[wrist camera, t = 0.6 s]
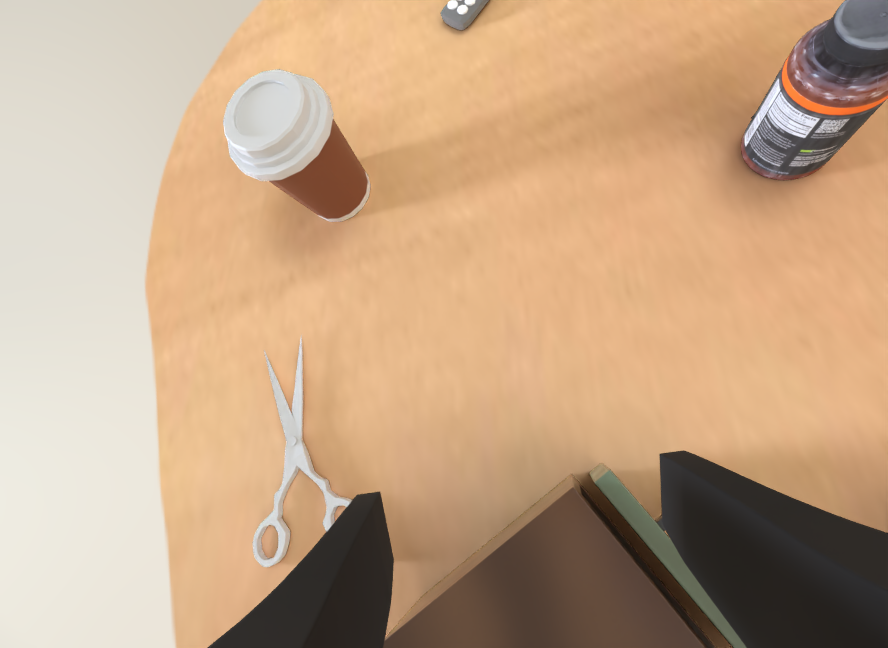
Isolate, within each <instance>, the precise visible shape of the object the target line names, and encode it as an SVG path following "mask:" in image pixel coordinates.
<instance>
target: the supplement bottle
mask: <svg viewBox="0 0 888 648" xmlns="http://www.w3.org/2000/svg"><path fill="white" fill-rule="evenodd" d="M887 98H888V0H845V1H844V2H843V3H842V4H841V6H840V7H839V8H838V9H837V11H836V13H835V14H834V16H833V17H832V18H831V19H830V20H827V21H824V22H823V23H821V24H819V25H818V26H816V27H814V28H813V29H811V30H810V31H808V32H807V33H806V34H805V35H804V36H803V37H802V38H801V39H800V40H799V41H798V42H797V44H796V45H795V46H794V48H793V50H792V51H791V53H790V55H789V57H788V58H787V59H786V61H785V62H784V65H783V67H782V69H781V70H780V72H779V73H778V75H777V76H776V79H775V80H774V82H773V84H772V85H771V87H770V89H769V91H768V92H767V94H766V96H765V98H764V100H763V101H762V103H761V105H760V106H759V108H758V110H757V111H756V113H755V114H754V116H752V117H751V119H752V120H751V121H750V124H749V125H748V127H747V129H746V131H745V133H744V135H743V138H742V142H741V152H742V156H743V159H744V160H745V162H746V163H747V165H748V166H749V167H750V168H751V169H752V170H754V171H755V172H757V173H758V174H760V175H762V176H764V177H767V178H771V179H777V180H792V179H798V178H802V177H805V176H808V175H810V174H812V173H814V172H816V171H817V170H818V169H820V168H821V167H822V166H823V165H825V164H826V163H827V162H828V161H829V160H830V159H831V158H832V156H833V155H834V154H835V153H836V152H837V151H838V150H839V149H840V148H841V147H842V146H843V145H844V144H845V143H846V142H847V141H848V140H849V138H850V137H851V136H852V135H853V134H854V133H855V132H856V131H857V130H858V129H859V128H860V127H861V126H862V125H863V124H864V123H865V122H866V120H867V119H868V118H869V117H870V116H871V115H872V114H873V113H874V112H875V111H876V110H877V109H878V108H879V107H880V106H881V105H882V104H883V103H884V102H885V100H886V99H887Z"/></svg>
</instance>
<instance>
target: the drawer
mask: <svg viewBox="0 0 888 648" xmlns="http://www.w3.org/2000/svg"><path fill="white" fill-rule="evenodd" d="M589 474H590V476H591V478H592V479H593V481H594V483H595V485H596V486H597V487H598V488H599V489H600V491H601V492H602V493H603V494H604V495H605V496H606V498H607V499H608V500H609V501H610V502H611V504H612V505H613V506H614V507H615V508H616V510H617V511H618V512H619V513H620V514H621V515H622V517H623V518H624V519H625V520H626V521H627V523H628V524H629V525H630V526H631V527H632V528H633V530H634V531H635V532H636V533H637V534H638V536H639V537H640V538H641V539H642V540H643V542H644V543H645V544H646V545H647V546H648V547H649V549H650V550H651V551H652V552H653V553H654V555H655V556H656V557H657V558H658V559H659V560H660V562H661V563H662V564H663V565H664V566H665V568H666V569H667V570H668V571H669V572H670V574H671V575H672V576H673V577H674V578H675V579H676V581H677V582H678V583H679V584H680V585H681V587H682V588H683V589H684V590H685V591H686V592H687V594H688V595H689V596H690V597H691V598H692V600H693V601H694V602H695V603H696V604H697V606H698V607H699V608H700V609H701V610H702V611H703V613H704V614H705V615H706V616H707V617H708V619H709V620H710V621H711V622H712V623H713V624H714V626H715V627H716V628H717V629H718V630H719V632H720V633H721V634H722V635H723V636H724V638H725V639H726V640H727V641H728V642H729V643H730V645H731V646H732V647H733V648H747V647H746V646H745V645H744V643H743V642H742V641H741V639H740V638H739V637H738V635H737V634H736V632H735V631H734V630H733V628H732V627H731V626H730V624H729V623H728V622H727V620H726V619H725V618H724V616H723V615H722V614H721V612H720V611H719V610H718V608H717V607H716V605H715V604H714V603H713V601H712V600H711V599H710V597H709V596H708V595H707V593H706V592H705V591H704V589H703V588H702V586H701V585H700V584H699V582H698V581H697V580H696V578H695V577H694V575H693V574H692V573H691V571H690V570H689V569H688V567H687V566H686V564H685V563H684V561H683V560H682V558H681V556H680V554H679V553H678V551H677V549H676V548H675V546H674V544H673V542H672V541H671V539H670V538H669V537H668V535H667V534H666V533H665V532H664V531H665V528H664V526H663V524H662V515H661V516H660V517H659V518H658V519H656V520H655V521H654V519H653V518H652V517H651V516H650V515H649V514H648V512H647V511H646V510H645V509H644V508H643V507H642V506H641V504H640V503H639V502H638V501H637V500H636V499H635V498H634V496H633V495H632V494H631V493H630V492H629V491H628V490H627V488H626V487H625V486H624V485H623V484H622V483H621V481H620V480H619V479H618V478H617V477H616V476H615V475H614V473H613V472H612V471H611V470H610V469H609V468H608V467H606V466H605V465H604V464H603V463H601V464H600V465H598V466H597V467H596V468H595V469H593V470H592V471H591V472H590V473H589ZM582 497H583V498H584V499H585V497H584V496H583V495H582ZM585 500H586V499H585ZM586 501H587V500H586ZM587 503H588V504H589V505H590V503H589V502H588V501H587ZM590 506H591V505H590ZM591 508H592V509H593V510H594V508H593V507H592V506H591ZM594 511H595V510H594ZM595 512H596V511H595ZM596 514H597V515H598V516H599V514H598V513H597V512H596ZM599 517H600V516H599ZM600 519H601V520H602V521H603V522H604V520H603V519H602V518H601V517H600ZM604 523H605V522H604ZM605 525H606V526H607V527H608V525H607V524H606V523H605ZM608 528H609V527H608ZM609 529H610V528H609ZM610 531H611V532H612V533H613V531H612V530H611V529H610ZM613 534H614V533H613ZM614 536H615V537H616V538H617V539H618V537H617V536H616V535H615V534H614ZM618 540H619V539H618ZM619 542H620V543H621V544H622V542H621V541H620V540H619ZM622 545H623V544H622ZM623 547H624V548H625V549H626V550H627V548H626V547H625V546H624V545H623ZM627 551H628V550H627ZM628 553H629V554H630V555H631V553H630V552H629V551H628ZM631 556H632V555H631ZM632 557H633V556H632ZM633 559H634V560H635V561H636V559H635V558H634V557H633ZM636 562H637V561H636ZM637 564H638V565H639V566H640V567H641V565H640V564H639V563H638V562H637ZM641 568H642V567H641ZM642 570H643V571H644V572H645V570H644V569H643V568H642ZM645 573H646V572H645ZM646 574H647V573H646ZM647 576H648V577H649V578H650V576H649V575H648V574H647ZM650 579H651V578H650ZM651 581H652V582H653V583H654V584H655V582H654V581H653V580H652V579H651ZM655 585H656V584H655ZM656 587H657V588H658V589H659V587H658V586H657V585H656ZM659 590H660V589H659ZM660 592H661V593H662V594H663V595H664V593H663V592H662V591H661V590H660ZM664 596H665V595H664ZM665 598H666V599H667V600H668V601H669V599H668V598H667V597H666V596H665ZM669 602H670V601H669ZM670 604H671V605H672V606H673V604H672V603H671V602H670ZM673 607H674V606H673ZM674 609H675V610H676V611H677V612H678V610H677V609H676V608H675V607H674ZM678 613H679V612H678ZM679 615H680V616H681V617H682V618H683V616H682V615H681V614H680V613H679ZM683 620H684V621H685V622H686V623H687V621H686V620H685V619H684V618H683ZM687 624H688V623H687ZM688 626H689V627H690V628H691V629H692V627H691V626H690V625H689V624H688ZM692 630H693V629H692ZM693 632H694V633H695V634H696V635H697V633H696V632H695V631H694V630H693ZM697 637H698V638H699V639H700V640H701V638H700V637H699V636H698V635H697ZM701 641H702V640H701ZM702 643H703V644H704V645H705V646H706V644H705V643H704V642H703V641H702ZM706 648H708V647H707V646H706Z"/></svg>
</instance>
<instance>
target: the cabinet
mask: <svg viewBox="0 0 888 648" xmlns="http://www.w3.org/2000/svg"><path fill="white" fill-rule="evenodd" d="M582 495H583V496H584V497H585V499H586V500H587V501H588V502H589V503H590V505H591V506H592V507H593V508H594V510H595V511H596V512H597V513H598V514H599V516H600V517H601V518H602V519H603V520H604V522H605V523H606V524H607V525H608V527H609V528H610V529H611V530H612V531H613V533H614V534H615V535H616V536H617V537H618V539H619V540H620V541H621V542H622V544H623V545H624V546H625V547H626V548H627V550H628V551H629V552H630V553H631V555H632V556H633V557H634V558H635V559H636V561H637V562H638V563H639V564H640V565H641V567H642V568H643V569H644V570H645V572H646V573H647V574H648V575H649V576H650V578H651V579H652V580H653V581H654V582H655V584H656V585H657V586H658V587H659V589H660V590H661V591H662V592H663V593H664V595H665V596H666V597H667V598H668V599H669V601H670V602H671V603H672V604H673V606H674V607H675V608H676V609H677V610H678V612H679V613H680V614H681V615H682V616H683V618H684V619H685V620H686V621H687V623H688V624H689V625H690V626H691V627H692V629H693V630H694V631H695V632H696V633H697V635H698V636H699V637H700V638H701V640H702V641H703V642H704V643H705V644H706V646H707V647H708V648H716V647H715V646H714V645H713V644H712V642H711V641H710V640H709V639H708V637H707V636H706V635H705V634H704V633H703V631H702V630H701V629H700V628H699V627H698V625H697V624H696V623H695V622H694V621H693V619H692V618H691V617H690V616H689V615H688V613H687V612H686V611H685V610H684V609H683V607H682V606H681V605H680V604H679V603H678V601H677V600H676V599H675V598H674V596H673V595H672V594H671V593H670V592H669V590H668V589H667V588H666V587H665V586H664V584H663V583H662V582H661V581H660V580H659V578H658V577H657V576H656V575H655V574H654V572H653V571H652V570H651V569H650V568H649V566H648V565H647V564H646V563H645V562H644V560H643V559H642V558H641V557H640V556H639V554H638V553H637V552H636V551H635V549H634V548H633V547H632V546H631V545H630V543H629V542H628V541H627V540H626V539H625V537H624V536H623V535H622V534H621V533H620V531H619V530H618V529H617V528H616V527H615V525H614V524H613V523H612V522H611V521H610V519H609V518H608V517H607V516H606V515H605V513H604V512H603V511H602V510H601V509H600V507H599V506H598V505H597V504H596V502H595V501H594V500H593V499H592V498H591V496H590V495H589V494H588V493H587V492H586V490H585V489H584V488H583V487H582V486H581V484H580V483H579V482H578V481H577V480H576V478H575V477H574V476H573V475H572V474H571V475H570V476H568V477H567V478H566V479H565V480H564V481H562V482H561V483H560V484H559V485H557V486H556V487H555V488H554V489H553V490H551V491H550V492H549V493H548V494H546V495H545V496H544V497H543V498H542V499H540V500H539V501H538V502H537V503H535V504H534V505H533V506H532V507H531V508H529V509H528V510H527V511H526V512H524V513H523V514H522V515H521V516H520V517H518V518H517V519H516V520H515V521H513V522H512V523H511V524H510V525H509V526H507V527H506V528H505V529H504V530H502V531H501V532H500V533H499V534H498V535H496V536H495V537H494V538H493V539H491V540H490V541H489V542H488V543H487V544H485V545H484V546H483V547H482V548H480V549H479V550H478V551H477V552H476V553H474V554H473V555H472V556H471V557H469V558H468V559H467V560H466V561H465V562H463V563H462V564H461V565H460V566H458V567H457V568H456V569H455V570H454V571H452V572H451V573H450V574H449V575H447V576H446V577H445V578H444V579H443V580H441V581H440V582H439V583H438V584H436V585H435V586H434V587H433V588H432V589H430V590H429V591H428V592H427V593H425V594H424V595H423V596H422V597H421V598H420V599H419V600H418V601H417V602H416V604H415V605H414V606H413V607H412V608H411V609H410V610H409V611H408V613H407V614H406V615H405V616H404V617H403V618H402V619H401V621H400V622H399V623H398V624H397V625H396V626H395V627H394V629H393V630H392V631H391V632H390V633H389V634H388V635H387V636H386V638H385V640H384V645H383V648H706V646H705V645H704V644H703V643H702V641H701V640H700V639H699V638H698V637H697V635H696V634H695V633H694V632H693V630H692V629H691V628H690V627H689V626H688V624H687V623H686V622H685V621H684V620H683V618H682V617H681V616H680V615H679V613H678V612H677V611H676V610H675V609H674V607H673V606H672V605H671V604H670V602H669V601H668V600H667V599H666V598H665V596H664V595H663V594H662V593H661V592H660V590H659V589H658V588H657V587H656V585H655V584H654V583H653V582H652V581H651V579H650V578H649V577H648V576H647V574H646V573H645V572H644V571H643V570H642V568H641V567H640V566H639V565H638V564H637V562H636V561H635V560H634V559H633V557H632V556H631V555H630V554H629V553H628V551H627V550H626V549H625V548H624V547H623V545H622V544H621V543H620V542H619V540H618V539H617V538H616V537H615V536H614V534H613V533H612V532H611V531H610V529H609V528H608V527H607V526H606V525H605V523H604V522H603V521H602V520H601V519H600V517H599V516H598V515H597V514H596V512H595V511H594V510H593V509H592V508H591V506H590V505H589V504H588V503H587V501H586V500H585V499H584V498H583V497H582Z"/></svg>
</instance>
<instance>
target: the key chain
mask: <svg viewBox="0 0 888 648" xmlns="http://www.w3.org/2000/svg"><path fill="white" fill-rule="evenodd" d="M488 1H489V0H450V1H449V2H448V4H447V5H446V6H445V7H444V8H443V10H442V12H441V16H442V19H443V21H444V22H445V23H446V24H448V25H450V26H451V27H453V28H455V29H458V30H464V29H465V28H467V27H468V26H469V25H470V24H471V23H472V21H473V20H474V19H475V18H476V16H477V15H478V14H479V13H480V11H481V10H482V9H483V7H484V6H485V5H486V3H487V2H488Z"/></svg>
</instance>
